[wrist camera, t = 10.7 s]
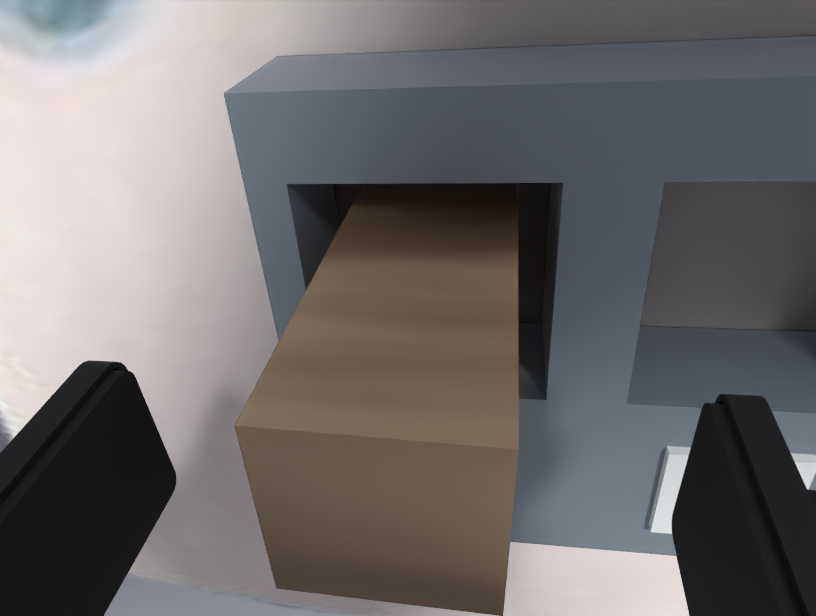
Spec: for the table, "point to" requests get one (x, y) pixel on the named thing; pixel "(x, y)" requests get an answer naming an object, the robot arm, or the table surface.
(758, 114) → the socket block
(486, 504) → the plug
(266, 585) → the table surface
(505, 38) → the table surface
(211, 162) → the table surface
